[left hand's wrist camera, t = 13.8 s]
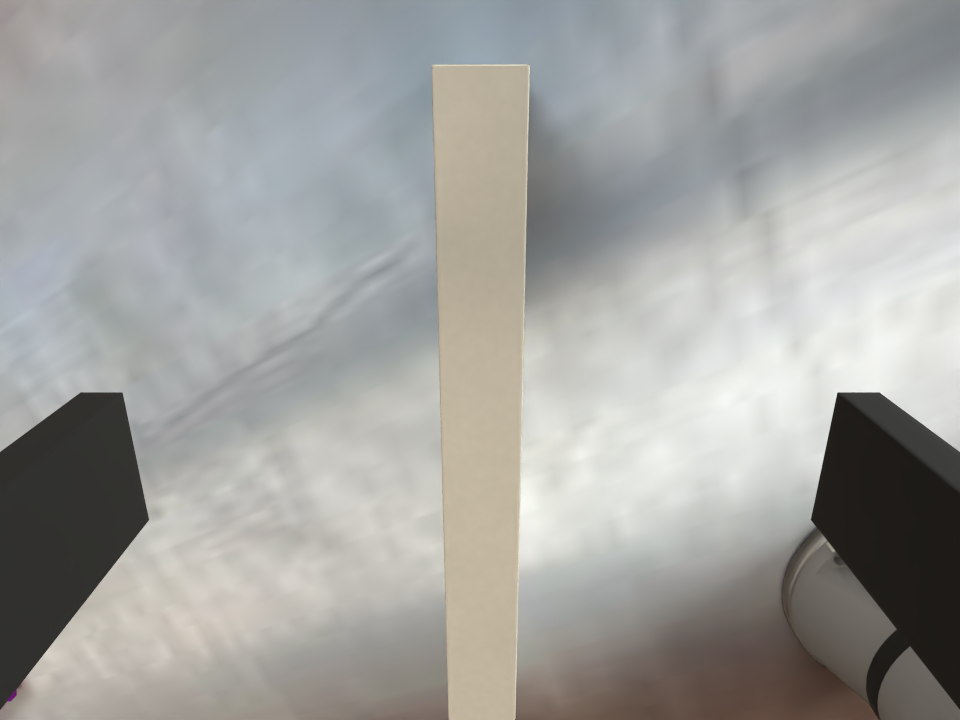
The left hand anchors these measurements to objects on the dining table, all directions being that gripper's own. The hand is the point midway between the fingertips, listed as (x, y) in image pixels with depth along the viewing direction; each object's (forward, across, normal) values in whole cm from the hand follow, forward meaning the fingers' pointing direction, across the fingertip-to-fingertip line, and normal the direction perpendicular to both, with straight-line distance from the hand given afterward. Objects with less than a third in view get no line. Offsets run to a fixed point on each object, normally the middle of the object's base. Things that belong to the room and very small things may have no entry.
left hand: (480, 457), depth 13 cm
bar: (+30, 0, -19) cm, 36 cm away
